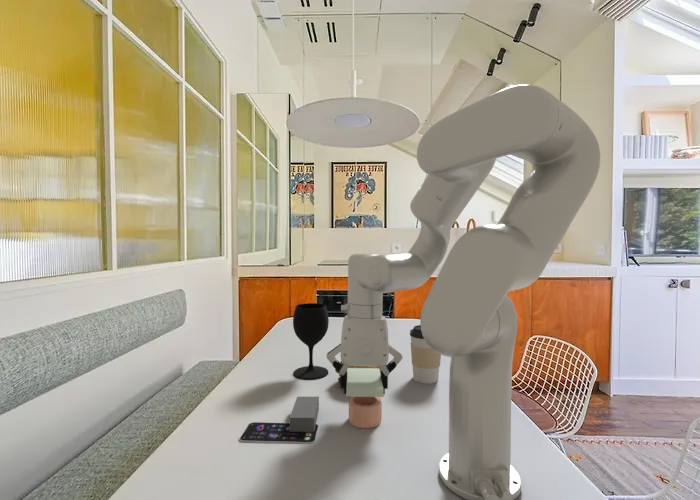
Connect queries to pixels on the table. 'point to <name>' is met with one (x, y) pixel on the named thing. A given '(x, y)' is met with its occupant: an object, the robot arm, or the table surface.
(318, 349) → the table surface
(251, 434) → the smartphone
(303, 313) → the wine glass
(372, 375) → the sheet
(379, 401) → the ramekin
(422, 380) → the coffee cup
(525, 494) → the table surface
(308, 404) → the tall grey rectangular block
